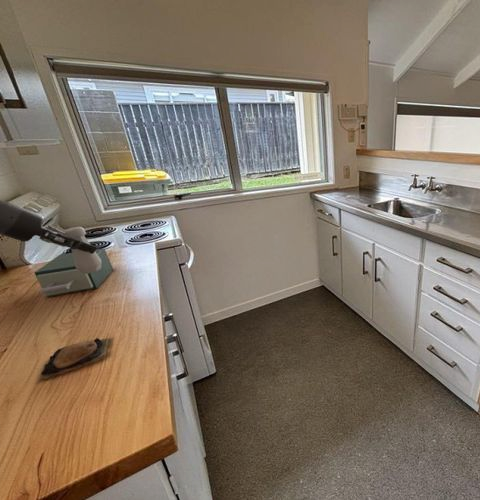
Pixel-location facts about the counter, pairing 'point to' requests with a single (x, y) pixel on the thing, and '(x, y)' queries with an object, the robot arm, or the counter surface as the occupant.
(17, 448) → the counter surface
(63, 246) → the robot arm
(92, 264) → the salt shaker
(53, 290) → the drawer
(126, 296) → the counter surface
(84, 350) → the brown and black piece
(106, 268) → the cabinet
